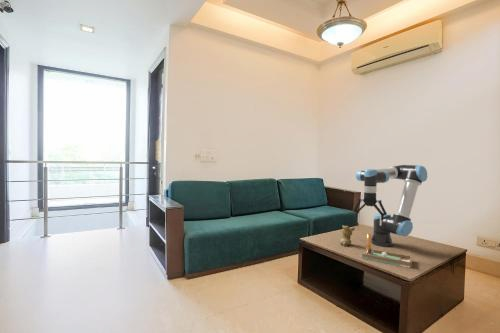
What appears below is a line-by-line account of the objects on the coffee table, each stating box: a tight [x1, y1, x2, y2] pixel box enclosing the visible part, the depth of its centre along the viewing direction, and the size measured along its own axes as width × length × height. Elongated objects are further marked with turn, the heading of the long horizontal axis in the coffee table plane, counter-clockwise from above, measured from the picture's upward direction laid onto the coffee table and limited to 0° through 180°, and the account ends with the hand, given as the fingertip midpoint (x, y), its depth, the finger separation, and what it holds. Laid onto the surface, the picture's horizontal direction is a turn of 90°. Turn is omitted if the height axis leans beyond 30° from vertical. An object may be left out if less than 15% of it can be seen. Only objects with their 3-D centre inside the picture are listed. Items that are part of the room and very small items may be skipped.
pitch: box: [361, 247, 413, 269], centre depth 174 cm, size 13×28×4 cm, turn 57°
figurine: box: [339, 224, 356, 247], centre depth 203 cm, size 10×9×15 cm
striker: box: [364, 233, 374, 255], centre depth 180 cm, size 6×5×13 cm
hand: (369, 223), depth 179 cm, fingers open, 13 cm apart
